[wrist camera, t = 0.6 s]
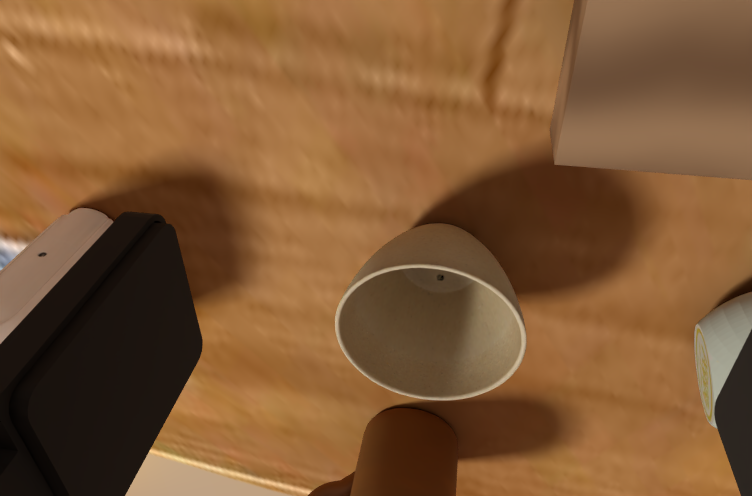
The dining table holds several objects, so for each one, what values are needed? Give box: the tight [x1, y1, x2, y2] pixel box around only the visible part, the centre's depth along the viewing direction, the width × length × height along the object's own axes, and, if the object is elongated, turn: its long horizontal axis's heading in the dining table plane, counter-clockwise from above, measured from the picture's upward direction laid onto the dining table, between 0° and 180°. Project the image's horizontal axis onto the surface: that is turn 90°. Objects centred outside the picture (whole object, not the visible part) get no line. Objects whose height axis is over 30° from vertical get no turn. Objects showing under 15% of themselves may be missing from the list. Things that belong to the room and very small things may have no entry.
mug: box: [308, 408, 458, 496], centre depth 45 cm, size 12×8×9 cm, turn 108°
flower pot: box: [335, 223, 526, 400], centre depth 34 cm, size 10×10×7 cm
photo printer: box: [0, 208, 113, 344], centre depth 37 cm, size 10×4×12 cm, turn 2°
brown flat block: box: [550, 0, 752, 180], centre depth 26 cm, size 10×10×4 cm
